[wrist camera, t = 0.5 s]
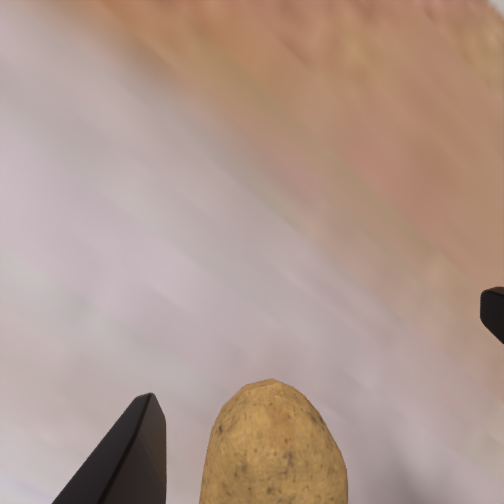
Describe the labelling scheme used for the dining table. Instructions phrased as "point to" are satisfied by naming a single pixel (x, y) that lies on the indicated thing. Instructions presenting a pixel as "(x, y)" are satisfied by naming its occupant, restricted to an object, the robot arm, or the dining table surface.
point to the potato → (272, 451)
